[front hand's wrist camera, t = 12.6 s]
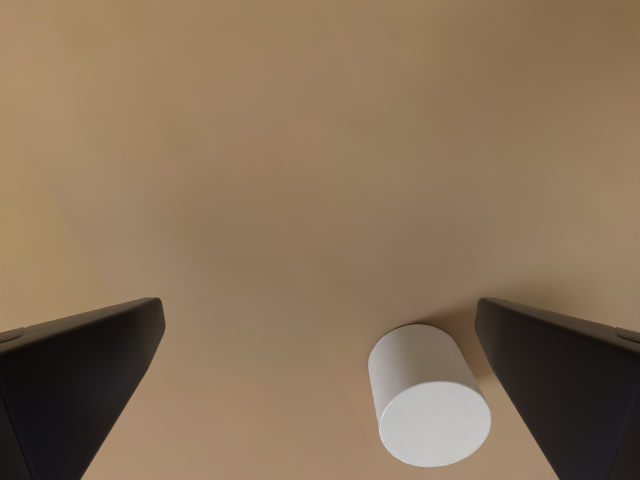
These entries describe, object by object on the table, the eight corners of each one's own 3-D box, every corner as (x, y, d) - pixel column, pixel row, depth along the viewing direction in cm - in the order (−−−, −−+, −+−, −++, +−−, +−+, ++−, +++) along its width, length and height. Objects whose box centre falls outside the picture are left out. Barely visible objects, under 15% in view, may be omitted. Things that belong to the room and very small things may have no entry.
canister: (370, 323, 21) (383, 380, 17) (466, 323, 21) (501, 381, 17) (365, 398, 23) (375, 467, 19) (453, 399, 23) (482, 468, 19)
